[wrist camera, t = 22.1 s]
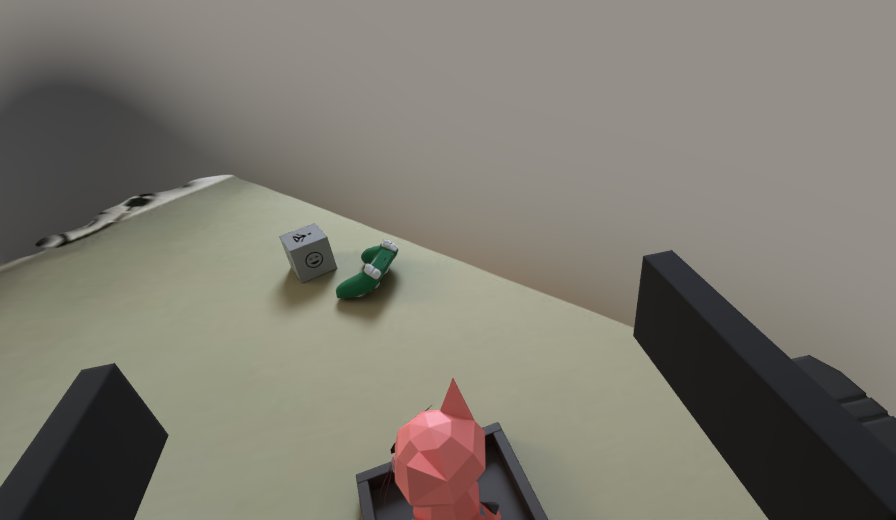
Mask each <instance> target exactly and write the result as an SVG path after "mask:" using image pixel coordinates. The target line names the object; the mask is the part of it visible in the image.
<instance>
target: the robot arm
mask: <svg viewBox="0 0 896 520" xmlns="http://www.w3.org/2000/svg"><path fill="white" fill-rule="evenodd" d="M633 336H634V337H635V339H636V340H637V341H638V343H639V344H640V346H641V347H642V348H643V350H644V351H645V352H646V354H647V355H648V356H649V358H650V359H651V360H652V362H653V363H654V365H655V366H656V367H657V369H658V370H659V371H660V373H661V374H662V375H663V377H664V378H665V379H666V381H667V382H668V384H669V385H670V386H671V388H672V389H673V390H674V392H675V393H676V394H677V396H678V397H679V398H680V400H681V401H682V403H683V404H684V405H685V407H686V408H687V409H688V411H689V412H690V413H691V415H692V416H693V417H694V419H695V420H696V422H697V423H698V424H699V426H700V427H701V428H702V430H703V431H704V432H705V434H706V435H707V436H708V438H709V439H710V441H711V442H712V443H713V445H714V446H715V447H716V449H717V450H718V451H719V453H720V454H721V455H722V457H723V458H724V460H725V461H726V462H727V464H728V465H729V466H730V468H731V469H732V470H733V472H734V473H735V474H736V476H737V477H738V479H739V480H740V481H741V483H742V484H743V485H744V487H745V488H746V489H747V491H748V492H749V494H750V495H751V496H752V498H753V499H754V500H755V502H756V503H757V504H758V506H759V507H760V508H761V510H762V511H763V513H764V514H765V515H766V517H767V518H768V519H769V520H896V418H895V417H894V416H892V417H891V416H889V415H888V412H887V410H885V409H884V408H883V407H882V406H880V404H878V403H877V402H876V401H875V400H874V399H872V398H868V397H867V396H866V393H865V392H864V391H863V390H862V389H861V388H859V387H858V386H857V385H856V384H855V383H853V382H852V381H851V380H850V379H849V378H847V377H846V376H845V375H844V374H843V373H842V372H840V371H839V370H837V369H835V368H833V367H831V366H829V365H827V364H825V363H823V362H821V361H819V360H818V359H816V358H814V357H812V356H810V355H808V356H803V357H799V358H794V359H790V358H789V357H788V356H787V355H786V354H785V353H784V352H783V351H782V350H780V349H779V348H778V347H777V346H776V345H775V344H774V343H773V342H772V341H770V339H768V338H767V337H766V336H765V335H764V334H763V333H762V332H761V331H760V330H758V328H756V327H755V326H754V325H753V324H752V323H751V322H750V321H749V320H748V319H747V318H745V317H744V316H743V315H742V314H741V313H740V312H739V311H738V310H737V309H736V308H734V307H733V306H732V305H731V304H730V303H729V302H728V301H727V300H726V299H725V298H724V297H722V296H721V295H720V294H719V293H718V292H717V291H716V290H715V289H714V288H713V287H712V286H710V285H709V284H708V283H707V282H706V281H705V280H704V279H703V278H702V277H700V275H698V274H697V273H696V272H695V271H694V270H693V269H692V268H691V267H690V266H689V265H687V264H686V263H685V262H684V261H683V260H682V259H681V258H680V257H679V256H678V255H677V254H675V253H674V252H673V251H672V250H671V251H666V252H661V253H656V254H651V255H646V256H643V262H642V271H641V278H640V287H639V294H638V303H637V310H636V318H635V326H634V334H633ZM167 438H168V434H167V432H166V431H165V430H164V428H163V427H162V425H161V424H160V423H159V421H158V420H157V419H156V417H155V416H154V415H153V413H152V412H151V411H150V409H149V408H148V407H147V405H146V404H145V403H144V401H143V400H142V399H141V397H140V396H139V395H138V393H137V392H136V391H135V389H134V388H133V387H132V385H131V384H130V383H129V381H128V380H127V379H126V377H125V376H124V375H123V373H122V372H121V371H120V369H119V368H118V367H117V365H116V364H115V363H114V364H109V365H104V366H99V367H94V368H89V369H84V370H81V372H80V373H79V374H78V376H77V377H76V379H75V380H74V382H73V383H72V385H71V386H70V387H69V389H68V390H67V392H66V393H65V395H64V396H63V398H62V399H61V400H60V402H59V403H58V405H57V406H56V408H55V409H54V411H53V412H52V413H51V415H50V416H49V418H48V419H47V421H46V422H45V424H44V425H43V426H42V428H41V429H40V431H39V432H38V434H37V435H36V437H35V438H34V439H33V441H32V442H31V444H30V445H29V447H28V448H27V450H26V451H25V452H24V454H23V455H22V457H21V458H20V460H19V461H18V463H17V464H16V465H15V467H14V468H13V470H12V471H11V473H10V474H9V476H8V477H7V478H6V480H5V481H4V483H3V484H2V486H1V487H0V520H134V518H135V516H136V513H137V511H138V508H139V506H140V504H141V501H142V499H143V496H144V494H145V491H146V489H147V487H148V484H149V482H150V479H151V477H152V474H153V472H154V469H155V467H156V465H157V462H158V460H159V457H160V455H161V452H162V450H163V448H164V445H165V443H166V440H167Z"/></svg>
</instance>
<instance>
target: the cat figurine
mask: <svg viewBox="0 0 896 520" xmlns="http://www.w3.org/2000/svg"><path fill="white" fill-rule="evenodd" d="M430 407H431V406H430ZM430 407H429V408H430ZM429 408H428V409H429ZM428 409H427V410H428ZM427 410H425V411H423V412H421V413H420V414H419V415H418V416H416V417H415V418H414V419H412V420H411V421H410V422H408V423H407V424H406V425H405V426H403V427H402V428H401V429H399V430H398V435H397V439H396V443H394V445H393V447H392V448H391V454H392V453H395V461H394V457H393V456H392V459H391V461H392V463H391V466H392V470H393V472H394V473H395V482H396V484H397V485H398V487H399V488H400V490H401V492H402V493H403V495H404V496H405V498H406V499H407V501H408V503H409V504H410V505H412V506H414V508H413V514H414V517H415V520H501V515H500V513H499V511H498V508H499V505H498V504H497V503H495V502H480V494H479V485H478V482H477V479H478V478H479V477H480V476H481V475H482V473H483V472H484V471H485V431H484V430H483V429H482V428H481V427H480V426H479V425H478V424H477V423H476V422H475V420H474V418H473V416H472V414H471V412H470V410H469V408H468V406H467V404H466V402H465V400H464V398H463V396H462V394H461V392H460V390H459V389H458V387H457V385H456V383H455V381H454V379H452V382H451V384H450V387H449V389H448V392H447V394H446V397H445V400H444V402H443V405H442V407H441V410H431V411H427ZM391 466H390V468H391ZM390 468H389V471H390ZM392 470H391V474H392ZM389 471H388V473H389ZM388 473H387V475H388ZM391 474H390V478H391ZM387 475H386V478H387ZM386 478H385V480H386ZM390 478H389V482H390ZM385 480H384V483H385ZM389 482H388V486H389ZM384 483H383V485H384ZM383 485H382V487H383ZM388 486H387V490H388ZM382 487H381V490H382ZM387 490H386V494H387ZM386 494H385V498H386ZM380 495H381V491H380ZM385 498H384V512H385ZM480 504H481V506H482V508H483V510H484V512H485V514H486V516H487V517H485V516H482V515H480ZM412 520H414V519H412Z"/></svg>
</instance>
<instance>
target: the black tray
mask: <svg viewBox="0 0 896 520" xmlns="http://www.w3.org/2000/svg"><path fill="white" fill-rule="evenodd" d="M482 429H483V430H484V431H485V471H484V472H483V473H482V475H481V476H480V477H479V478H478V479H477V482H478V485H479V494H480V502H495V503H497V504H498V505H499V508H498V511H499V513H500V515H501V520H548V518H547V516H546V514H545V513H544V511H543V509H542V507H541V505H540V503H539V501H538V499H537V497H536V495H535V493H534V491H533V489H532V487H531V485H530V483H529V481H528V479H527V477H526V475H525V473H524V471H523V469H522V467H521V465H520V463H519V461H518V460H517V458H516V456H515V454H514V452H513V450H512V448H511V446H510V444H509V442H508V440H507V438H506V436H505V434H504V432H503V430H502V428H501V426H500V424H499V423H498V422H497V423H494V424H491V425H489V426H486V427H483V428H482ZM394 461H395V460H394ZM391 463H392V461H391V462H389V463H386V464H383V465H381V466H378V467H375V468H373V469H370V470H367V471H364V472H362V473H359V474H356V481H357V487H358V493H359V499H360V505H361V511H362V517H363V520H412V519H414V520H415V517H414V514H413V508H414V506H412V505H410V504H409V503H408V501H407V499H406V498H405V496H404V495H403V493H402V492H401V490H400V488H399V487H398V485H397V484H396V482H395V473H394V472H393V470H392V466H391ZM390 466H391V468H390ZM389 468H390V471H389ZM391 470H392V474H391ZM388 471H389V473H388ZM387 473H388V475H387ZM390 474H391V478H390ZM386 475H387V478H386ZM385 478H386V480H385ZM389 478H390V482H389ZM384 480H385V483H384ZM388 482H389V486H388ZM383 483H384V485H383ZM382 485H383V487H382ZM387 486H388V490H387ZM381 487H382V490H381ZM386 490H387V494H386ZM380 491H381V495H380ZM385 494H386V498H385ZM384 498H385V512H384ZM480 515H482V516H485V517H487V516H486V514H485V512H484V510H483V508H482V506H481V504H480Z"/></svg>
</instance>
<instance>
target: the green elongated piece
mask: <svg viewBox="0 0 896 520" xmlns="http://www.w3.org/2000/svg"><path fill="white" fill-rule="evenodd" d="M397 252H398V248H397V246H396V245H395V244H394V243H391V242H390V241H388V240H386V239H383V242H382V244H381V245H380V246H376V247H372V248H369V249H366V250H365V251H364V252H363V253H362V255H361V259H362V261H363V262H364V263H365V264H366V265H365V268H364V269H363V271H362V272H361V273H359V274H358V275H356V276H354V277H352V278H350V279H348V280H346V281H344V282H343V283H341V284H340V285H339V286H338V287H337V289H336V294H337V298H351V297H356V296H359V295H362V294H364V293H366V292H369V291H370V290H374V289H376V288H377V287H378V286H379V285H380V279H381V278H382V277H383V275H385V274H386V273H387V272H388V270H389V268H388V267H389V265H390V264H391V262H392V261H393V259H394V258H395V257H396V255H397Z"/></svg>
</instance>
